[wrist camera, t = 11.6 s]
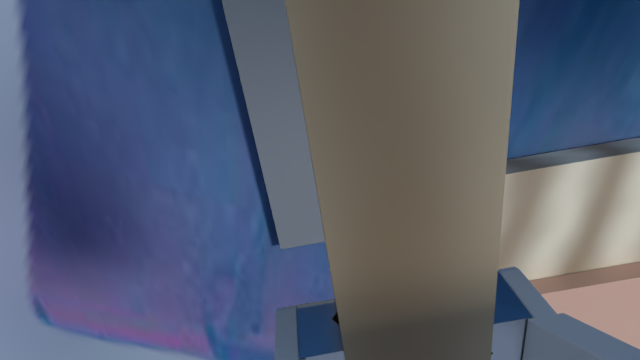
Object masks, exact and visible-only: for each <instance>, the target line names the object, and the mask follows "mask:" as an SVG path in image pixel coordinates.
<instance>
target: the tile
mask: <svg viewBox="0 0 640 360" xmlns="http://www.w3.org/2000/svg"><path fill="white" fill-rule="evenodd" d="M530 282H531V283H532V285H533V286H534V287H535V288H536V289H537V291H538V292H539V293H540V294H541V295H542V296H543V298H544V299H545V300H546V301H547V302H548V303H549V305H550V306H551V307H552V308H553V309H554V310H555V312H556V313H557V314H560V313H565V314H567V315H569V316H571V317H573V318H575V319H577V320H579V321H581V322H584V323H586V324H588V325H590V326H592V327H594V328H596V329H598V330H600V331H602V332H604V333H606V334H609V335H611V336H613V337H615V338H617V339H619V340H621V341H623V342H625V343H627V344H629V345H631V346H633V347H636V348H638V349H640V262H637V263H631V264H625V265H619V266H613V267H607V268H602V269H596V270H590V271H584V272H578V273H573V274H567V275H561V276H555V277H549V278H543V279H538V280H532V281H530Z"/></svg>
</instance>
